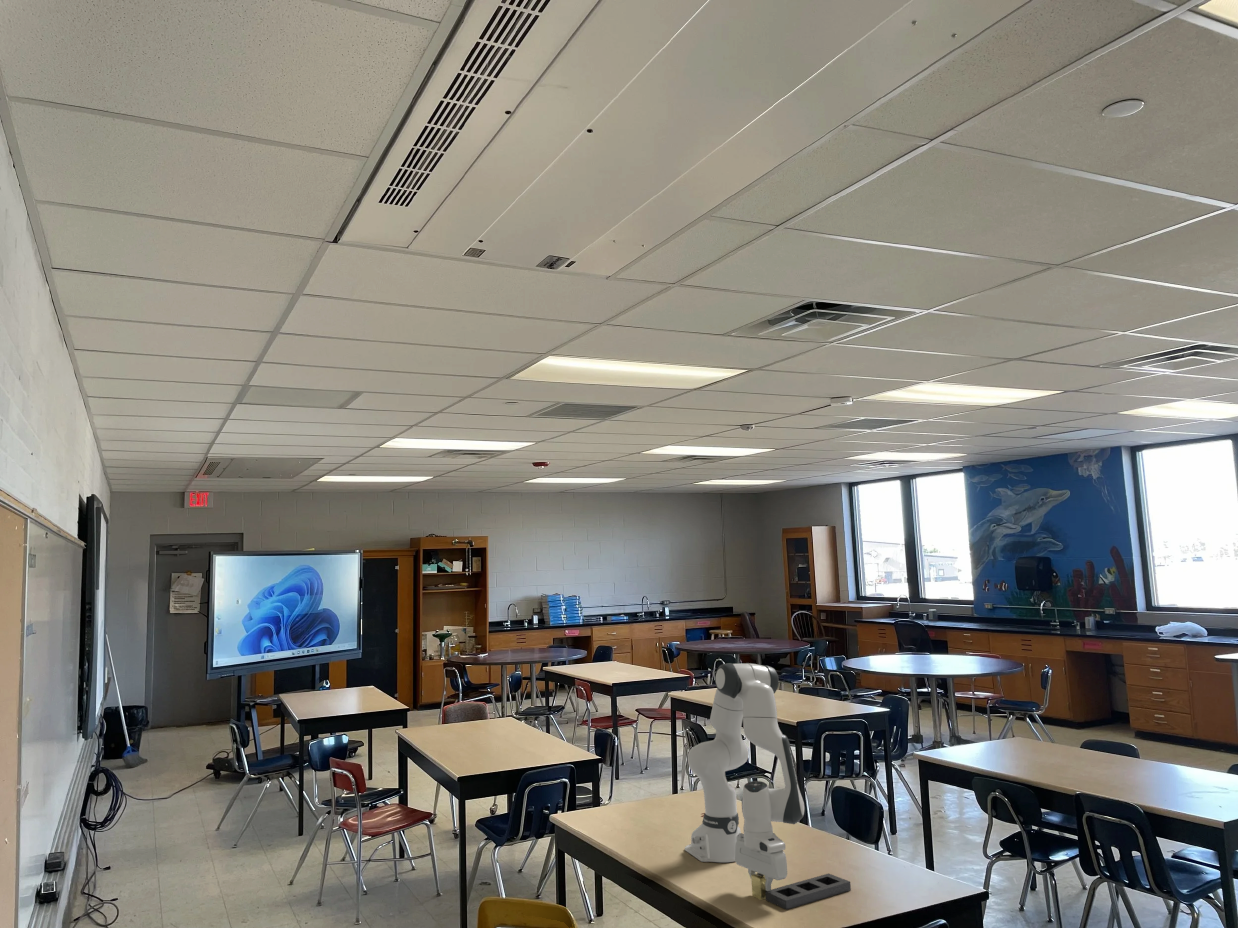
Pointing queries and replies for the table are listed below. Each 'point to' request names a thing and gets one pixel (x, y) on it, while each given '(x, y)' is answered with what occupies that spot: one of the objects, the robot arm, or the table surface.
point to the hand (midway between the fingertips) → (761, 887)
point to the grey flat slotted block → (807, 891)
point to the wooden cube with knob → (758, 886)
